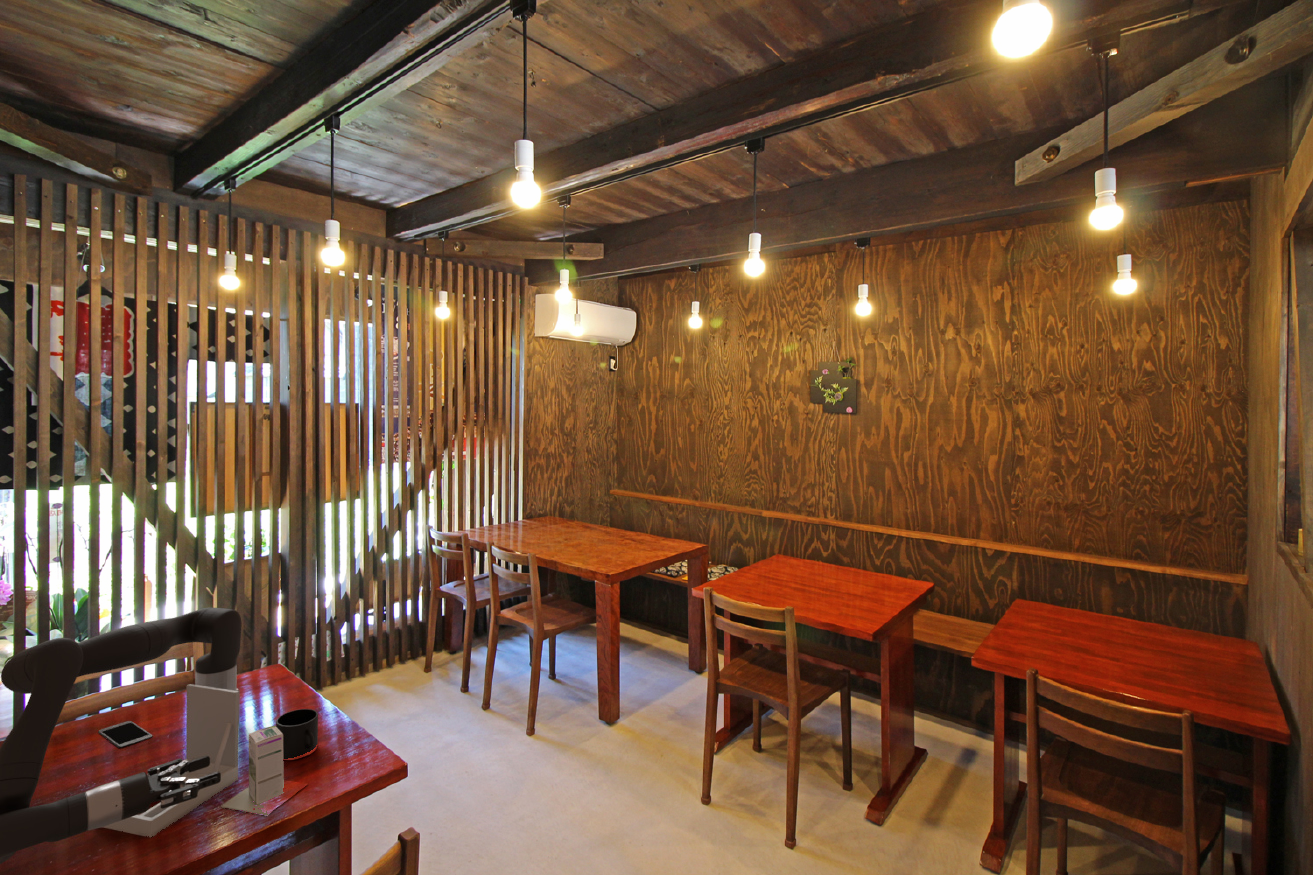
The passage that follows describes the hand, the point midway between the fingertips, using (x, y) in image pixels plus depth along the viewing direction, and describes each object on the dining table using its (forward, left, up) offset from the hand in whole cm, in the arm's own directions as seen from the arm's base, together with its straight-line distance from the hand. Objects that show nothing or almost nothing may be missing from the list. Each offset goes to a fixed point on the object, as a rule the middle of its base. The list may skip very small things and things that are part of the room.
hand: (214, 768), depth 136 cm
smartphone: (-21, -51, -11) cm, 56 cm away
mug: (-26, -1, -11) cm, 28 cm away
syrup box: (-8, +5, -10) cm, 14 cm away
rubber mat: (-9, +5, -11) cm, 14 cm away
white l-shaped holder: (-2, -13, -11) cm, 17 cm away
